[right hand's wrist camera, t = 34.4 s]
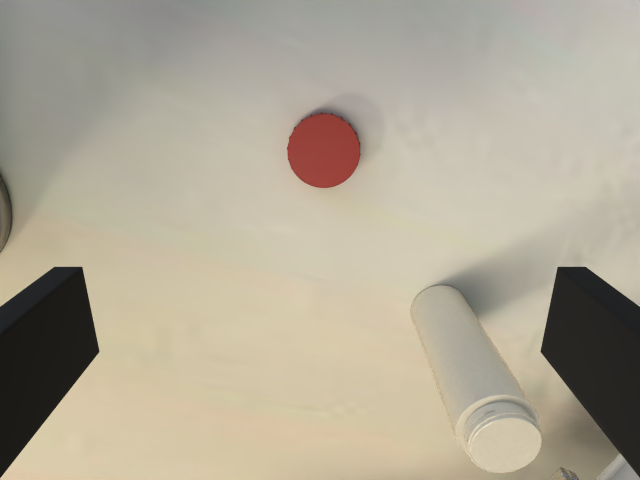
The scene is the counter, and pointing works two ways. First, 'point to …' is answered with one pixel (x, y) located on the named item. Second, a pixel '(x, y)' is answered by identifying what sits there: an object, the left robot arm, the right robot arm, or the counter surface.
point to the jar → (475, 383)
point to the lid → (323, 150)
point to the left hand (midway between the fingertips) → (594, 440)
